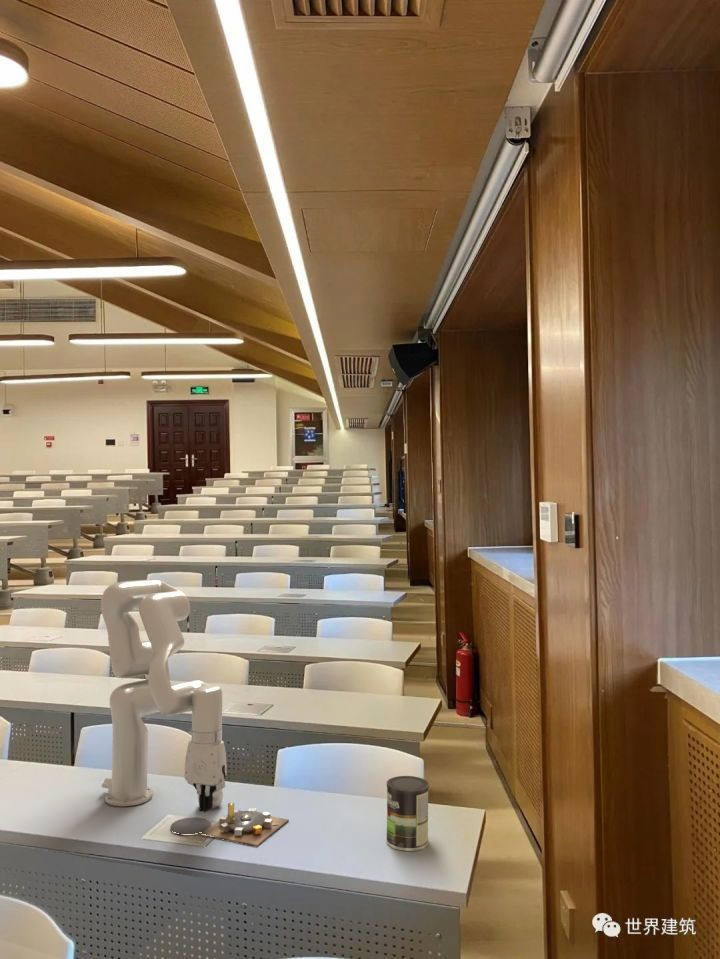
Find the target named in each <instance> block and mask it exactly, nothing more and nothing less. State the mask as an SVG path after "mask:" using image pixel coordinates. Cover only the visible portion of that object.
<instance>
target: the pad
mask: <svg viewBox="0 0 720 959" xmlns="http://www.w3.org/2000/svg"><path fill="white" fill-rule="evenodd" d="M211 826H212V822H211V820H209V819H207V818H205V817H199V816H193V817H191V816H190V817H184V818H180V819H178V820H175V821H174V822H172V823H171V825H170V828H171V829H170V831H171V830H172V831H173V832H176V833H179V834H195V833H199V832H203V831H205V830H206V829H208V828H209V827H211Z"/></svg>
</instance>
